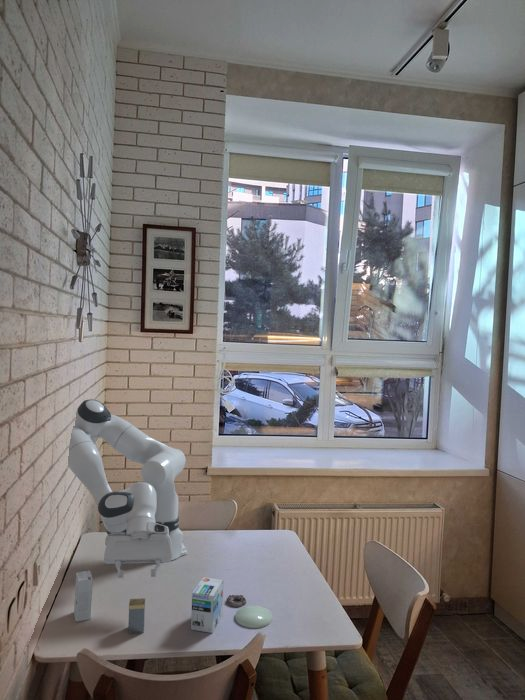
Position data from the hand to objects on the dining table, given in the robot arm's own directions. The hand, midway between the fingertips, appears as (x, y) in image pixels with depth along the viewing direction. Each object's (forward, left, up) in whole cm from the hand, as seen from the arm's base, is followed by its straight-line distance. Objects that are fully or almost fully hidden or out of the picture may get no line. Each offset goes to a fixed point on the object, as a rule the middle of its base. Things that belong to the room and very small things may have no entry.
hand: (137, 576), depth 157 cm
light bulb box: (+6, +21, -12) cm, 24 cm away
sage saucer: (+5, +35, -12) cm, 37 cm away
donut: (-5, +30, -12) cm, 33 cm away
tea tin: (+8, +1, -12) cm, 14 cm away
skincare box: (-1, -15, -12) cm, 19 cm away
